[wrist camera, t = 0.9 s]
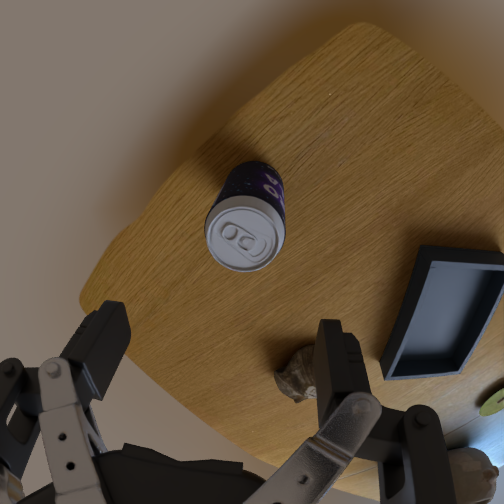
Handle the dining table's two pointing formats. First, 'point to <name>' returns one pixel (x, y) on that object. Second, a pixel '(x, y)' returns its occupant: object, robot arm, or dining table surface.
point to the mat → (493, 404)
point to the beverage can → (247, 218)
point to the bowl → (472, 475)
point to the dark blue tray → (443, 312)
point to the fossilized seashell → (298, 376)
